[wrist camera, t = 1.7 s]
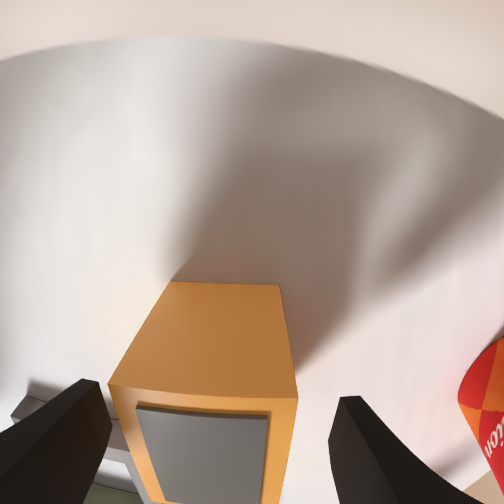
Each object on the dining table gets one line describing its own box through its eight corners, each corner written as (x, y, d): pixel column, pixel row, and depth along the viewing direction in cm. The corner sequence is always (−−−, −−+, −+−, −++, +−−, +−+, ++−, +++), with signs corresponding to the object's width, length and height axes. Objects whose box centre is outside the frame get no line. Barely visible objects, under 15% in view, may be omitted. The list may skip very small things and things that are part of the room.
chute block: (181, 391, 13) (150, 504, 7) (170, 280, 12) (105, 387, 6) (270, 395, 13) (276, 514, 7) (279, 284, 12) (298, 402, 6)
